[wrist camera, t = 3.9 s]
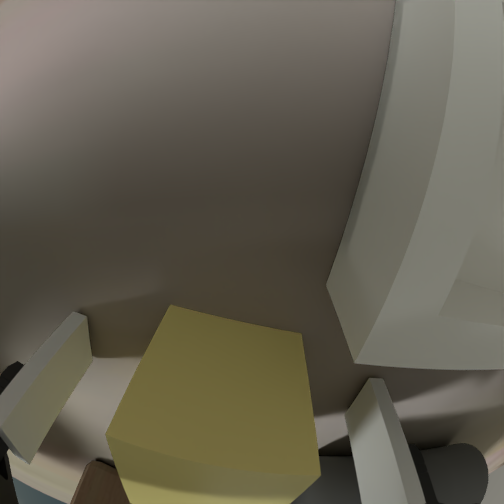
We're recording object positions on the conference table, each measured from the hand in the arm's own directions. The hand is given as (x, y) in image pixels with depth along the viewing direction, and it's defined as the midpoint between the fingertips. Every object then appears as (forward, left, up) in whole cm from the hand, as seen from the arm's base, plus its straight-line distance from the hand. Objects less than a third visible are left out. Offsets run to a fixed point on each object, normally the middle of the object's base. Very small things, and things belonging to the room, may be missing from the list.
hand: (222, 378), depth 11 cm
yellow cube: (0, 0, 0) cm, 0 cm away
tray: (+10, +11, 0) cm, 15 cm away
